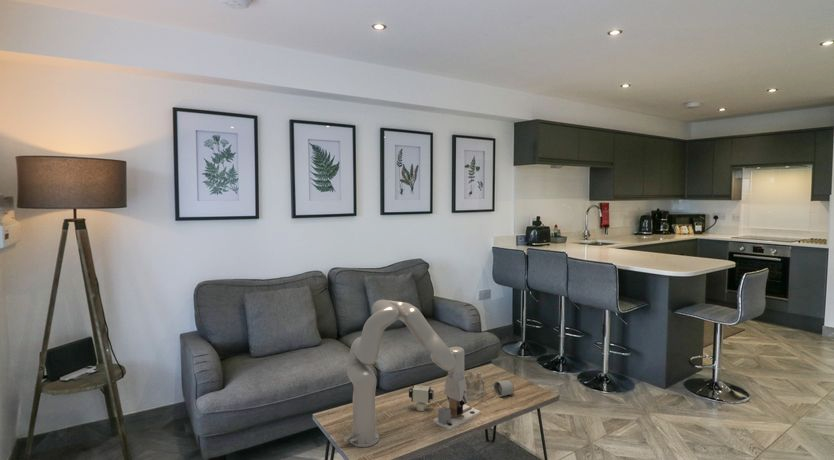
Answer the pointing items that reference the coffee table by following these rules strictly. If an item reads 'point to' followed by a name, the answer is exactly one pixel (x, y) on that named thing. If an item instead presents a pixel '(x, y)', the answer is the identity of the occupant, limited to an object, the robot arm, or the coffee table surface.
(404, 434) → the coffee table surface
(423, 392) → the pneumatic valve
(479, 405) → the coffee table surface
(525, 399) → the coffee table surface
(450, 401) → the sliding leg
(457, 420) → the board
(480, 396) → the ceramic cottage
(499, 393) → the ceramic mug
